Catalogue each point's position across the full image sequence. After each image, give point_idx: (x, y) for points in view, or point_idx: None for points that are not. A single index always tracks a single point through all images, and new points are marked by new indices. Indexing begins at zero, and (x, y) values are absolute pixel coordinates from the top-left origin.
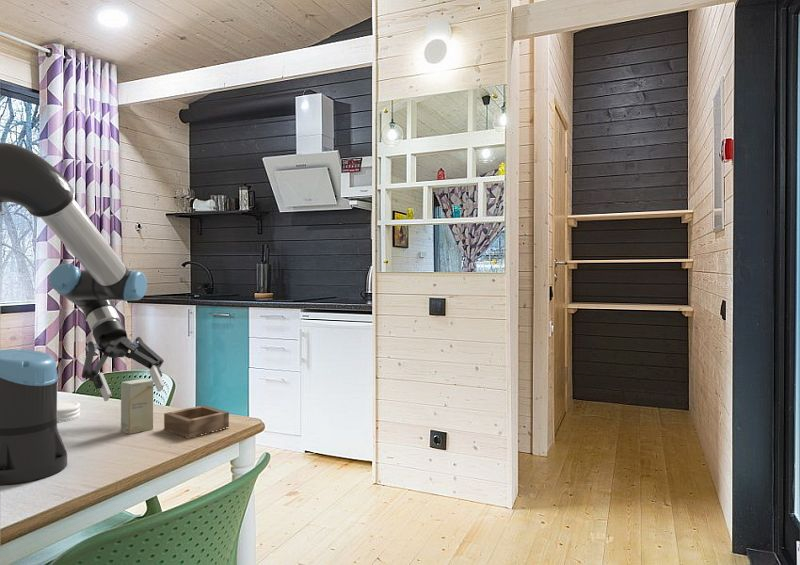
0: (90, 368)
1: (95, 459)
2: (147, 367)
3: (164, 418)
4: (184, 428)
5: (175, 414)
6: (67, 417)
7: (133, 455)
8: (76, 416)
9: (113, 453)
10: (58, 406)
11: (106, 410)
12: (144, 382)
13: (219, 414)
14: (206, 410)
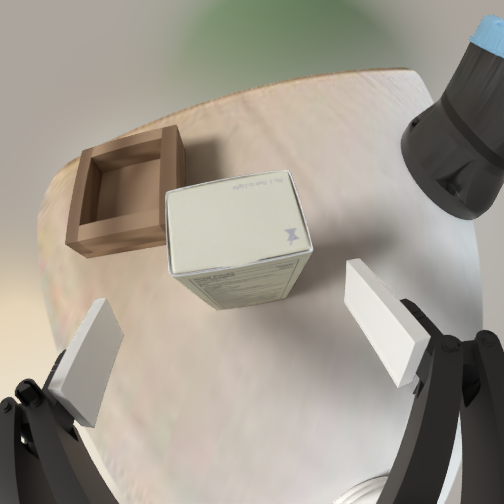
0: (480, 355)
1: (363, 143)
2: (85, 448)
3: None
4: (180, 150)
5: (161, 192)
6: (367, 486)
7: (305, 124)
8: (340, 498)
9: (334, 150)
10: None
11: None
12: (213, 182)
13: (102, 144)
14: (84, 208)
